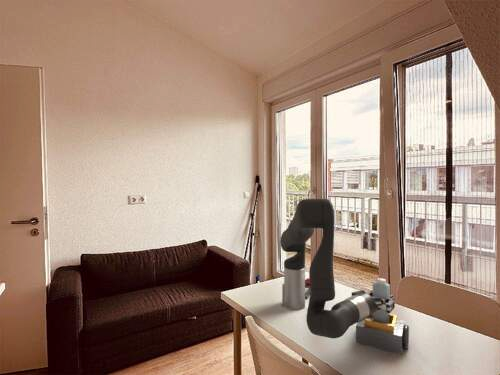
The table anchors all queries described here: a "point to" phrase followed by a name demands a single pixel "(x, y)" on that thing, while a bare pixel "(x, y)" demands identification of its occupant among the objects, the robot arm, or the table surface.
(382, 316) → the light blue bottle
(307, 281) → the valve
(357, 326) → the gold-trimmed base block
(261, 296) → the table surface
